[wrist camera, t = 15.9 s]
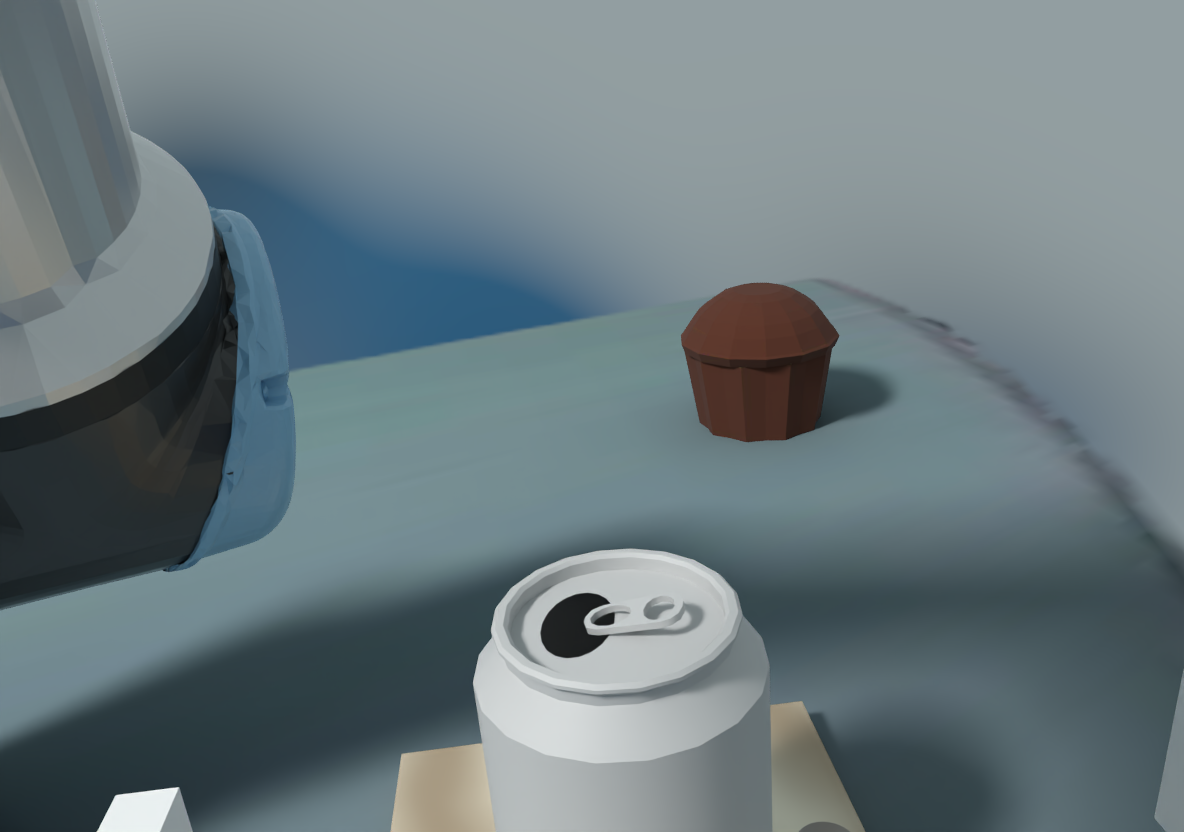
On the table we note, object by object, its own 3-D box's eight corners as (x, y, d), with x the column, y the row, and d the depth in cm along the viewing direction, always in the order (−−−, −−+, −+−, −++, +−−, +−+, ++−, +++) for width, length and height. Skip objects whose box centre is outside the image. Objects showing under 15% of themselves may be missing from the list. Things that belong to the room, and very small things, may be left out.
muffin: (683, 397, 75) (677, 276, 72) (822, 389, 74) (822, 266, 71) (687, 454, 64) (680, 314, 61) (850, 446, 63) (852, 304, 60)
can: (548, 844, 31) (507, 529, 27) (773, 860, 30) (767, 531, 26) (487, 1066, 24) (420, 691, 20) (776, 1102, 23) (769, 706, 19)
